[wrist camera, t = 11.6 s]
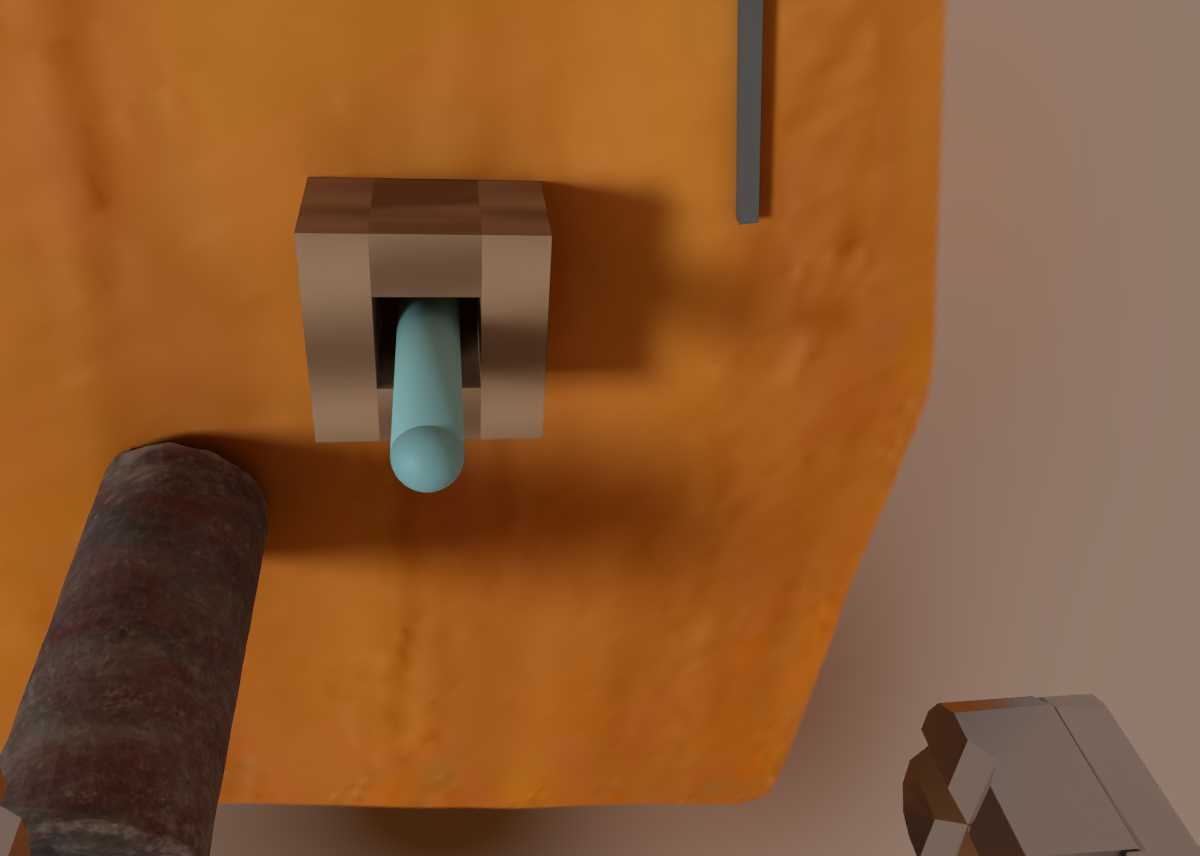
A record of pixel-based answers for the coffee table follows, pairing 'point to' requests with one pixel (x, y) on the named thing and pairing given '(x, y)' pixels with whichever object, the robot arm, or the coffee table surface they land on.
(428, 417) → the teal capsule
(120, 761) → the textured grey cylinder
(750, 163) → the dark grey bar
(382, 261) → the block with square hole
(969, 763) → the robot arm
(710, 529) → the coffee table surface
